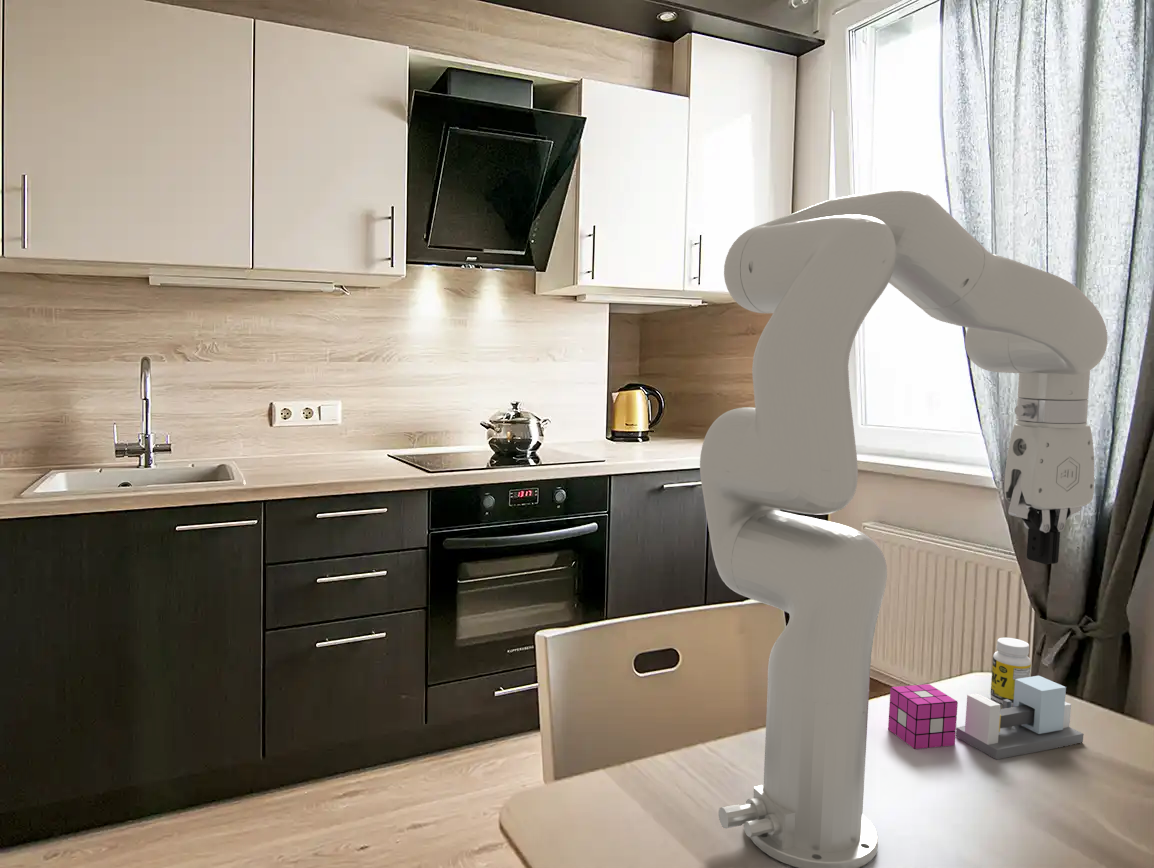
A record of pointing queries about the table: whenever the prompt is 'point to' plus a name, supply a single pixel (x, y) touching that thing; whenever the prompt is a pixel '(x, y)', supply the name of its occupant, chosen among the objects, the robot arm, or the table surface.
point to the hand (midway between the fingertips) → (1042, 561)
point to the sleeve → (1041, 702)
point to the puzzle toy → (922, 716)
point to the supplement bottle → (1009, 667)
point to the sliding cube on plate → (1010, 729)
